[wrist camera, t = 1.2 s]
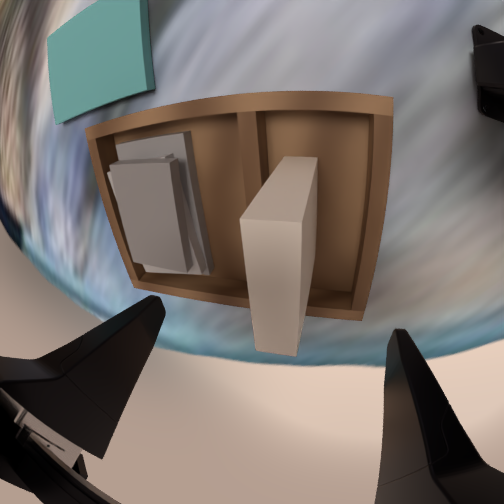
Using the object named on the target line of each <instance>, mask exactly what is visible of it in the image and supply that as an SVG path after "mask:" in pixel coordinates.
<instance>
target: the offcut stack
mask: <svg viewBox="0 0 504 504" xmlns="http://www.w3.org/2000/svg"><path fill="white" fill-rule="evenodd" d="M116 150H117V154H118V159H119V161H117V162H115V163H113V164H111V165H109V166H110V171H109V172H108V173H107V174H108V177H109V180H110V183H111V186H112V189H113V192H114V195H115V197H116V200H117V203H118V208H119V212H120V216H121V220H122V224H123V227H124V231H125V235H126V238H127V242H128V245H129V249H130V252H131V255H132V259H133V262H136V263H140V264H143V266H144V269H145V271H146V272H155V273H175V274H198V275H202V274H204V275H210V274H211V272H212V270H213V269H214V264H213V259H212V254H211V249H210V244H209V238H208V233H207V228H206V222H205V217H204V211H203V206H202V200H201V194H200V188H199V182H198V176H197V170H196V164H195V157H194V151H193V144H192V137H191V130H190V131H182V132H175V133H168V134H162V135H156V136H150V137H145V138H140V139H134V140H130V141H125V142H122V143H119V144H117V145H116Z"/></svg>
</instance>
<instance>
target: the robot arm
mask: <svg viewBox="0 0 504 504" xmlns="http://www.w3.org/2000/svg"><path fill="white" fill-rule="evenodd" d="M478 29H479V30H480V31H481V34H480V33H479V32H478ZM472 30H473V36H474V44H475V47H474V56H475V69H476V82H477V84H478V110H479V112H480V113H481V114H482V115H484V116H487V117H490V118H493V119H495V120H498V121H501V122H503V123H504V36H502V35H500V34H498V33H496V32H494V31H492V30H490V29H488V28H485V27H483V26H481V25H475V26H473V29H472ZM484 105H485V106H486V111H484V109H483V107H484ZM165 314H166V311H165V308H164V305H163V303H162V300H161V298H160V297H159V296H155V295H150V296H148V297H146V298H144V299H143V300H141V301H139V302H137V303H136V304H134V305H132V306H131V307H129V308H127V309H126V310H124V311H122V312H120V313H119V314H117V315H115V316H114V317H112V318H110V319H109V320H107V321H105V322H104V323H102V324H101V325H99V326H97V327H95V328H93V329H92V330H90V331H88V332H87V333H85V334H84V335H82V336H80V337H78V338H77V339H75V340H73V341H71V342H70V343H68V344H66V345H64V346H62V347H60V348H58V349H56V350H54V351H52V352H50V353H48V354H46V355H44V356H42V357H40V358H37V359H30V360H29V359H19V358H10V357H2V356H0V478H1V479H2V480H4V481H6V482H8V483H11V484H13V485H15V486H17V487H19V488H22V489H24V490H26V491H29V492H32V493H34V494H35V495H36V497H37V498H38V499H39V500H40V501H41V502H42V503H44V504H121V503H119V502H117V501H116V500H114V499H113V498H111V497H110V496H108V495H107V494H105V493H103V492H102V491H101V490H99V489H98V488H96V487H95V486H93V485H92V484H91V483H89V482H88V481H86V479H87V477H88V475H87V471H86V467H85V463H84V459H83V455H82V454H81V451H82V449H83V450H85V451H87V452H89V453H91V454H92V455H94V456H96V457H98V458H100V459H103V457H104V455H105V452H106V450H107V448H108V445H109V443H110V440H111V438H112V436H113V433H114V431H115V429H116V426H117V424H118V421H119V419H120V417H121V415H122V412H123V410H124V408H125V406H126V404H127V401H128V399H129V397H130V395H131V393H132V390H133V388H134V386H135V384H136V382H137V380H138V378H139V376H140V374H141V371H142V369H143V367H144V365H145V363H146V361H147V359H148V357H149V355H150V353H151V351H152V349H153V347H154V344H155V342H156V339H157V336H158V334H159V331H160V328H161V326H162V323H163V320H164V318H165ZM375 504H504V473H503V472H501V471H499V470H497V469H495V468H493V467H491V466H489V465H488V464H487V463H486V462H485V461H484V460H483V459H482V458H481V456H480V455H479V453H478V452H477V450H476V448H475V446H474V445H473V443H472V442H471V440H470V438H469V437H468V435H467V434H466V432H465V430H464V429H463V427H462V425H461V424H460V422H459V420H458V418H457V416H456V415H455V413H454V411H453V409H452V407H451V405H450V404H449V401H448V400H447V398H446V396H445V394H444V392H443V390H442V389H441V387H440V385H439V383H438V381H437V380H436V378H435V376H434V374H433V373H432V371H431V369H430V368H429V366H428V364H427V362H426V361H425V359H424V358H423V356H422V354H421V353H420V351H419V349H418V348H417V346H416V345H415V343H414V341H413V340H412V338H411V337H410V335H409V334H408V332H407V331H406V330H405V329H395V330H394V331H393V333H392V335H391V338H390V340H389V342H388V346H387V357H386V370H385V381H384V419H383V438H382V451H381V462H380V471H379V479H378V487H377V492H376V499H375Z"/></svg>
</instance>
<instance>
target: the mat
mask: <svg viewBox="0 0 504 504" xmlns="http://www.w3.org/2000/svg"><path fill="white" fill-rule="evenodd" d="M47 46H48V68H49V80H50V89H51V98H52V105H53V111H54V118H55V123H56V125H58V124H60V123H63V122H65V121H68V120H70V119H72V118H74V117H77V116H79V115H81V114H83V113H86V112H88V111H91V110H93V109H96V108H98V107H101V106H104V105H106V104H109V103H112V102H115V101H117V100H120V99H123V98H126V97H129V96H133V95H136V94H139V93H142V92H146V91H149V90H153V89H155V83H154V75H153V66H152V56H151V45H150V33H149V19H148V0H98V1H97V2H95V3H93V4H92V5H90V6H89V7H87V8H86V9H84V10H83V11H81V12H80V13H79V14H77V15H76V16H74V17H73V18H72V19H70V20H69V21H68V22H66V23H65V24H64V25H62V26H61V27H60V28H59V29H57V30H56V31H55V32H54V33H53V34H51V35H50V36H49V37H48V38H47Z"/></svg>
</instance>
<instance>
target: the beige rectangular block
mask: <svg viewBox="0 0 504 504" xmlns="http://www.w3.org/2000/svg"><path fill="white" fill-rule="evenodd" d="M317 189H318V157H293V156H284V157H283V159H282V160H281V162H280V163H279V164H278V166H277V167H276V168H275V170H274V171H273V173H272V174H271V175H270V177H269V178H268V179H267V181H266V182H265V184H264V185H263V186H262V188H261V189H260V191H259V192H258V193H257V195H256V196H255V198H254V199H253V201H252V202H251V203H250V205H249V206H248V208H247V209H246V210H245V212H244V213H243V215H242V216H241V218H240V227H241V235H242V244H243V252H244V260H245V269H246V277H247V285H248V293H249V301H250V309H251V317H252V325H253V333H254V341H255V349H256V351H262V352H268V353H275V354H281V355H288V356H295V357H297V352H298V347H299V343H300V338H301V333H302V328H303V323H304V318H305V313H306V307H307V302H308V296H309V291H310V285H311V279H312V273H313V267H314V260H315V250H316V228H317Z"/></svg>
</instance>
